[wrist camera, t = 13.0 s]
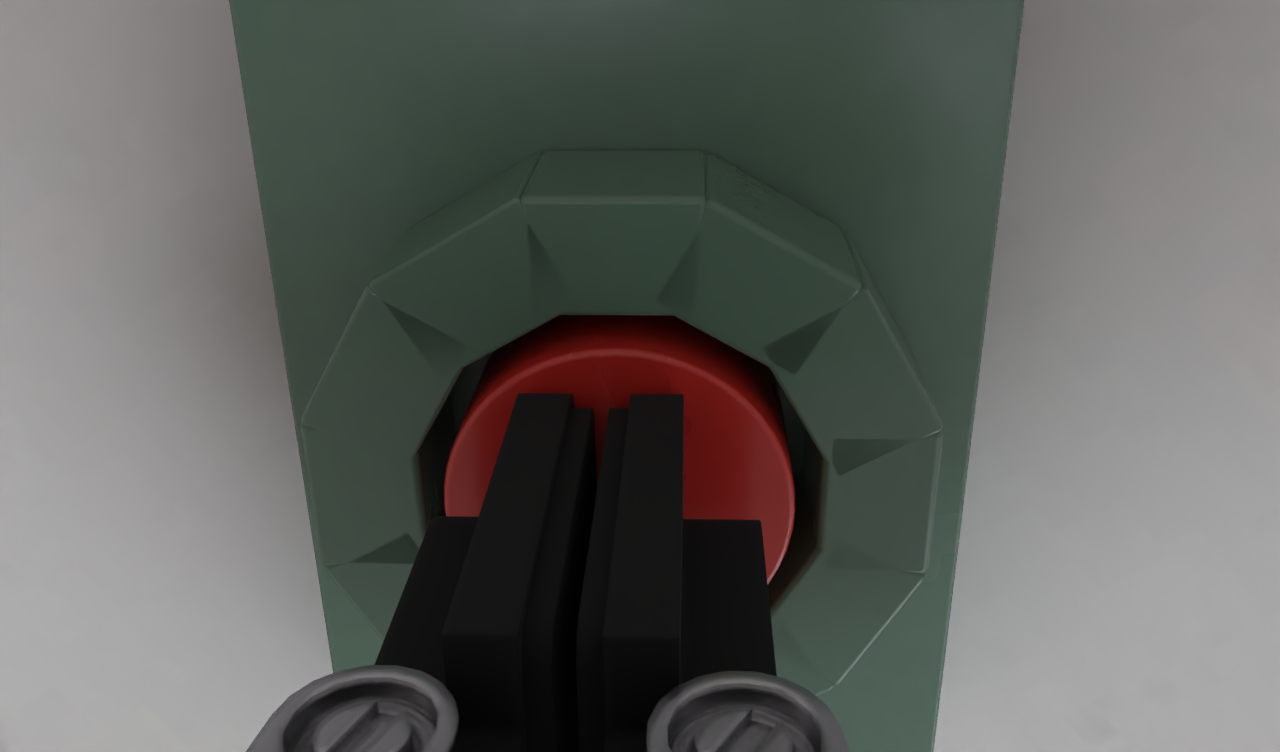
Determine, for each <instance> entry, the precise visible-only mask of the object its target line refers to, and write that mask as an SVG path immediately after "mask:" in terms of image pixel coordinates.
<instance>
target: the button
mask: <svg viewBox="0 0 1280 752" xmlns="http://www.w3.org/2000/svg"><path fill="white" fill-rule="evenodd" d="M519 393H571V394H573V397H574V404H575V408H593V410H594V419H595V447H596V478H597V487H598V480H599V474H600V467H601V460H602V453H603V447H604V440H605V433H606V426H607V420H608V413H609V408H629V403H630V395H631V394H684V498H683V519H740V520H760V521H761V526H762V534H763V544H764V554H765V564H766V574H767V584H769V582H770V581H771V579H772V577H773V576H774V574H775V573H776V571H777V570H778V568H779V566H780V564H781V562H782V560H783V558H784V555H785V553H786V551H787V549H788V545H789V542H790V538H791V535H792V531H793V525H794V517H795V488H794V481H793V474H792V468H791V461H790V454H789V448H788V441H787V434H786V427H785V421H784V415H783V409H782V404H781V399H780V396H779V393H778V390H777V387H776V384H775V382H774V380H773V378H772V376H771V374H770V372H769V370H768V368H767V366H765V365H764V364H762V363H760V362H758V361H756V360H754V359H753V358H751V357H749V356H747V355H745V354H743V353H741V352H740V351H738V350H736V349H734V348H732V347H730V346H728V345H727V344H725V343H723V342H721V341H719V340H717V339H716V338H714V337H712V336H710V335H708V334H706V333H704V332H703V331H701V330H699V329H697V328H695V327H693V326H692V325H690V324H688V323H686V322H684V321H682V320H680V319H679V318H677V317H675V316H641V315H559V316H558V317H556V318H554V319H552V320H550V321H548V322H547V323H545V324H543V325H541V326H539V327H537V328H536V329H534V330H532V331H530V332H528V333H527V334H525V335H523V336H521V337H519V338H517V339H516V340H514V341H512V342H510V343H508V344H506V345H505V346H503V347H501V348H499V349H497V350H495V352H494V353H493V355H492V356H491V358H490V359H489V361H488V362H487V364H486V366H485V368H484V370H483V373H482V375H481V377H480V379H479V381H478V384H477V386H476V389H475V391H474V394H473V396H472V399H471V401H470V404H469V406H468V409H467V411H466V414H465V416H464V419H463V421H462V424H461V426H460V429H459V431H458V434H457V436H456V439H455V441H454V443H453V446H452V449H451V452H450V456H449V459H448V463H447V466H446V474H445V481H444V507H445V513H446V516H468V517H479V514H480V511H481V508H482V505H483V501H484V498H485V495H486V492H487V489H488V486H489V483H490V479H491V476H492V473H493V470H494V467H495V464H496V461H497V457H498V454H499V451H500V448H501V445H502V442H503V439H504V435H505V432H506V429H507V426H508V423H509V420H510V417H511V413H512V410H513V407H514V404H515V401H516V398H517V395H518V394H519Z"/></svg>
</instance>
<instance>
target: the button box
mask: <svg viewBox="0 0 1280 752" xmlns="http://www.w3.org/2000/svg"><path fill="white" fill-rule="evenodd" d="M229 2H230V9H231V15H232V22H233V28H234V35H235V41H236V48H237V54H238V61H239V67H240V73H241V80H242V86H243V93H244V99H245V106H246V112H247V119H248V125H249V132H250V138H251V144H252V151H253V157H254V164H255V170H256V177H257V183H258V190H259V196H260V203H261V209H262V215H263V222H264V228H265V235H266V241H267V248H268V254H269V261H270V267H271V274H272V280H273V286H274V293H275V299H276V306H277V312H278V319H279V325H280V332H281V338H282V345H283V351H284V357H285V364H286V370H287V377H288V383H289V390H290V396H291V403H292V409H293V415H294V422H295V428H296V435H297V441H298V448H299V454H300V461H301V467H302V474H303V480H304V486H305V493H306V499H307V506H308V512H309V519H310V525H311V532H312V538H313V545H314V551H315V557H316V564H317V570H318V577H319V583H320V590H321V596H322V603H323V609H324V616H325V622H326V628H327V635H328V641H329V648H330V654H331V661H332V667H333V673H335V672H338V671H340V670H345V669H350V668H356V667H361V666H367V665H375V662H376V659H377V657H378V654H379V652H380V649H381V647H382V644H383V641H384V639H385V636H386V634H387V631H388V629H389V626H390V623H391V621H392V618H393V616H394V613H395V610H396V608H397V605H398V603H399V600H400V598H401V595H402V592H403V590H404V587H405V585H406V582H407V580H408V577H409V574H410V572H411V569H412V567H413V564H414V562H415V559H416V556H417V554H418V551H419V549H420V546H421V543H422V541H423V538H424V536H425V533H426V531H427V528H428V526H429V524H430V522H431V520H432V518H434V517H436V516H446V513H445V507H444V481H445V474H446V466H447V463H448V459H449V456H450V452H451V449H452V446H453V443H454V441H455V439H456V436H457V434H458V431H459V429H460V426H461V424H462V421H463V419H464V416H465V414H466V411H467V409H468V406H469V404H470V401H471V399H472V396H473V394H474V391H475V389H476V386H477V384H478V381H479V379H480V377H481V375H482V373H483V370H484V368H485V366H486V364H487V362H488V361H489V359H490V358H491V356H492V355H493V353H494V352H495V350H497V349H499V348H501V347H503V346H505V345H506V344H508V343H510V342H512V341H514V340H516V339H517V338H519V337H521V336H523V335H525V334H527V333H528V332H530V331H532V330H534V329H536V328H537V327H539V326H541V325H543V324H545V323H547V322H548V321H550V320H552V319H554V318H556V317H558V316H559V315H641V316H675V317H677V318H679V319H680V320H682V321H684V322H686V323H688V324H690V325H692V326H693V327H695V328H697V329H699V330H701V331H703V332H704V333H706V334H708V335H710V336H712V337H714V338H716V339H717V340H719V341H721V342H723V343H725V344H727V345H728V346H730V347H732V348H734V349H736V350H738V351H740V352H741V353H743V354H745V355H747V356H749V357H751V358H753V359H754V360H756V361H758V362H760V363H762V364H764V365H765V366H767V368H768V370H769V372H770V374H771V376H772V378H773V380H774V382H775V384H776V387H777V390H778V393H779V396H780V399H781V404H782V409H783V415H784V421H785V427H786V434H787V441H788V448H789V454H790V461H791V468H792V474H793V481H794V488H795V517H794V525H793V531H792V535H791V538H790V542H789V545H788V549H787V551H786V553H785V555H784V558H783V560H782V562H781V564H780V566H779V568H778V570H777V571H776V573H775V574H774V576H773V577H772V579H771V581H770V582H769V584H768V594H769V604H770V613H771V623H772V633H773V643H774V653H775V663H776V673H777V676H778V677H782V678H785V679H787V680H789V681H791V682H793V683H795V684H798V685H800V686H802V687H804V688H806V689H808V690H809V691H811V692H812V693H813V694H814V695H815V696H817V697H818V698H819V699H820V700H821V701H823V702H824V703H825V704H826V705H827V706H828V707H829V709H830V710H831V712H832V714H833V715H834V717H835V718H836V720H837V722H838V723H839V725H840V727H841V729H842V732H843V735H844V737H845V740H846V743H847V745H848V748H849V750H850V752H933V750H934V742H935V734H936V726H937V717H938V709H939V701H940V693H941V684H942V676H943V668H944V660H945V651H946V643H947V635H948V626H949V618H950V610H951V602H952V593H953V585H954V577H955V569H956V560H957V552H958V544H959V536H960V527H961V519H962V511H963V503H964V494H965V486H966V478H967V470H968V461H969V453H970V445H971V437H972V428H973V420H974V412H975V404H976V395H977V387H978V379H979V371H980V362H981V354H982V346H983V337H984V329H985V321H986V313H987V304H988V296H989V288H990V280H991V271H992V263H993V255H994V247H995V238H996V230H997V222H998V214H999V205H1000V197H1001V189H1002V181H1003V172H1004V164H1005V156H1006V148H1007V139H1008V131H1009V123H1010V115H1011V106H1012V98H1013V90H1014V82H1015V73H1016V65H1017V57H1018V48H1019V40H1020V32H1021V24H1022V15H1023V7H1024V0H229Z"/></svg>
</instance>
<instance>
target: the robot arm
mask: <svg viewBox="0 0 1280 752" xmlns="http://www.w3.org/2000/svg"><path fill="white" fill-rule="evenodd" d="M683 498H684V394H631V395H630V403H629V408H609V413H608V420H607V426H606V433H605V440H604V447H603V453H602V460H601V467H600V474H599V480H598V487H597V478H596V447H595V419H594V410H593V408H575V404H574V397H573V394H571V393H519V394H518V395H517V398H516V401H515V404H514V407H513V410H512V413H511V417H510V420H509V423H508V426H507V429H506V432H505V435H504V439H503V442H502V445H501V448H500V451H499V454H498V457H497V461H496V464H495V467H494V470H493V473H492V476H491V479H490V483H489V486H488V489H487V492H486V495H485V498H484V501H483V505H482V508H481V511H480V514H479V517H468V516H436V517H434V518H432V520H431V522H430V524H429V526H428V528H427V531H426V533H425V536H424V538H423V541H422V543H421V546H420V549H419V551H418V554H417V556H416V559H415V562H414V564H413V567H412V569H411V572H410V574H409V577H408V580H407V582H406V585H405V587H404V590H403V592H402V595H401V598H400V600H399V603H398V605H397V608H396V610H395V613H394V616H393V618H392V621H391V623H390V626H389V629H388V631H387V634H386V636H385V639H384V641H383V644H382V647H381V649H380V652H379V654H378V657H377V659H376V662H375V665H367V666H361V667H356V668H350V669H345V670H340V671H338V672H335V673H332V674H330V675H327V676H325V677H322V678H320V679H317V680H314V681H312V682H311V683H309V684H308V685H306V686H305V687H303V688H302V689H300V690H298V691H297V692H295V693H294V694H292V695H291V696H289V697H288V698H287V699H286V700H285V702H284V703H283V704H282V705H281V706H280V707H279V708H278V709H277V710H276V711H275V712H274V713H273V714H272V715H271V717H270V718H269V720H268V721H267V722H266V724H265V725H264V727H263V728H262V730H261V731H260V732H259V734H258V735H257V737H256V738H255V740H254V741H253V742H252V744H251V745H250V747H249V748H248V749H247V751H246V752H850V750H849V748H848V745H847V743H846V740H845V737H844V735H843V732H842V729H841V727H840V725H839V723H838V722H837V720H836V718H835V717H834V715H833V714H832V712H831V710H830V709H829V707H828V706H827V705H826V704H825V703H824V702H823V701H821V700H820V699H819V698H818V697H817V696H815V695H814V694H813V693H812V692H811V691H809V690H808V689H806V688H804V687H802V686H800V685H798V684H795V683H793V682H791V681H789V680H787V679H785V678H782V677H778V676H777V673H776V663H775V653H774V643H773V633H772V623H771V613H770V604H769V594H768V584H767V574H766V564H765V554H764V544H763V534H762V526H761V521H760V520H740V519H683Z"/></svg>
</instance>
